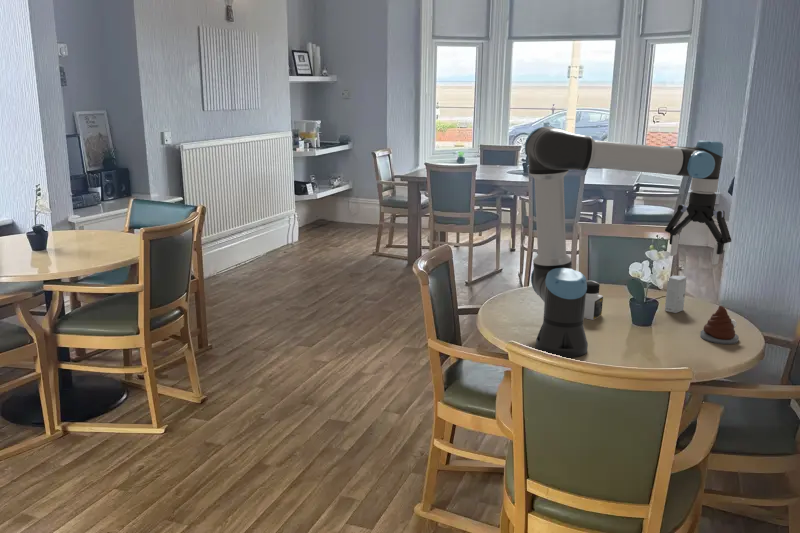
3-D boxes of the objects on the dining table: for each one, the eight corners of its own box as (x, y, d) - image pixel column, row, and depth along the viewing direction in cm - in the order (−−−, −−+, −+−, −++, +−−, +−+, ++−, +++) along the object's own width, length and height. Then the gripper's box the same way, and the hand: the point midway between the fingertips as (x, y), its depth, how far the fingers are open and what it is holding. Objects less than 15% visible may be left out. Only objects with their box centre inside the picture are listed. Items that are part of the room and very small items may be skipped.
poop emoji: (697, 330, 222) (700, 302, 220) (720, 328, 224) (723, 301, 222) (718, 341, 213) (722, 312, 211) (741, 339, 215) (746, 310, 213)
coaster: (728, 347, 212) (729, 343, 212) (693, 337, 220) (694, 333, 220) (744, 338, 219) (744, 335, 219) (710, 329, 227) (710, 326, 227)
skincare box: (676, 313, 243) (679, 280, 240) (663, 310, 246) (667, 277, 243) (683, 309, 247) (687, 277, 244) (671, 307, 250) (675, 274, 247)
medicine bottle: (593, 320, 235) (596, 286, 232) (573, 316, 239) (576, 282, 236) (601, 315, 240) (604, 281, 237) (582, 311, 245) (584, 278, 242)
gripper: (750, 196, 206) (739, 266, 211) (671, 186, 224) (663, 250, 230) (738, 198, 201) (727, 269, 207) (659, 187, 220) (650, 253, 225)
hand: (693, 259), depth 218 cm, fingers open, 13 cm apart
